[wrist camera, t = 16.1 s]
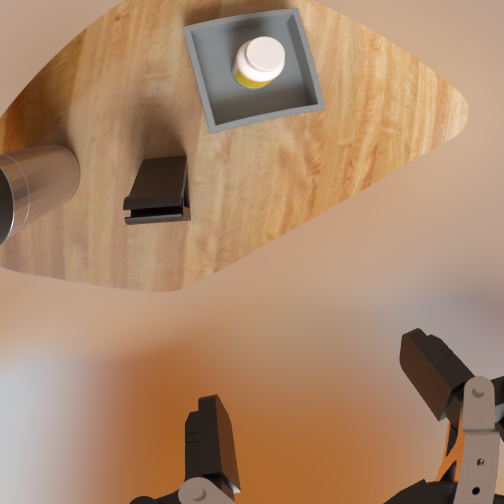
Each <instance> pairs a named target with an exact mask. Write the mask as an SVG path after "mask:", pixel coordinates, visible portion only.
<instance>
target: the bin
mask: <svg viewBox="0 0 504 504" xmlns="http://www.w3.org/2000/svg"><path fill="white" fill-rule="evenodd" d="M183 31H184V35H185V39H186V43H187V47H188V51H189V55H190V58H191V62H192V66H193V70H194V74H195V78H196V81H197V85H198V89H199V93H200V96H201V100H202V104H203V108H204V112H205V115H206V119H207V123H208V127H209V130H210V134H212V133H215V132H219V131H223V130H227V129H231V128H235V127H239V126H243V125H247V124H251V123H256V122H260V121H265V120H270V119H274V118H279V117H284V116H290V115H295V114H300V113H306V112H312V111H318V110H324V109H325V105H324V101H323V96H322V92H321V88H320V84H319V80H318V76H317V72H316V68H315V65H314V61H313V57H312V54H311V50H310V47H309V43H308V40H307V36H306V33H305V30H304V26H303V23H302V20H301V17H300V14H299V11H298V8H295V9H282V10H272V11H263V12H255V13H248V14H242V15H236V16H230V17H225V18H220V19H215V20H210V21H206V22H201V23H197V24H193V25H189V26H185V27H183ZM258 37H271V38H274V39H276V40H277V41H278V42H280V43H281V45H282V46H283V48H284V51H285V63H284V67H283V70H282V71H281V73H280V74H279V75H278V76H277V77H276V78H275V79H273V80H272V81H271V82H270V83H268V84H267V85H266V86H264V87H262V88H260V89H255V90H250V89H246V88H243V87H241V86H240V85H238V84H237V83H236V82H235V80H234V78H233V76H232V65H233V62H234V60H235V58H236V55H237V52H238V50H239V49H240V47H241V46H242V45H243V44H244V43H246V42H247V41H250V40H253V39H255V38H258Z"/></svg>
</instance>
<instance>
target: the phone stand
mask: <svg viewBox="0 0 504 504" xmlns="http://www.w3.org/2000/svg"><path fill="white" fill-rule="evenodd" d="M123 210H130V211H131V214H130V215H131V216H130V217H125V222H126V224H127V225H134V224H146V223H160V222H174V221H188V220H191V217H190V203H189V189H188V169H187V156H180V157H168V158H157V159H147V160H143V162H142V164H141V167H140V169H139V172H138V174H137V177H136V179H135V182H134V184H133V187H132V189H131V192H130V194H129V196H127V197H125V199H124V204H123Z"/></svg>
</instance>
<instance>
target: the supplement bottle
mask: <svg viewBox="0 0 504 504" xmlns="http://www.w3.org/2000/svg"><path fill="white" fill-rule="evenodd" d="M284 63H285V51H284V48H283V46H282V45H281V43H280V42H278V41H277V40H276V39H274V38H271V37H258V38H255V39H253V40H250V41H247V42H246V43H244V44H243V45H242V46H241V47H240V49H239V50H238V52H237V55H236V58H235V60H234V62H233V65H232V76H233V78H234V80H235V82H236V83H237V84H238V85H240V86H241V87H243V88H246V89H250V90H255V89H260V88H262V87H264V86H266V85H267V84H268V83H270V82H271V81H272V80H273V79H275V78H276V77H277V76H278V75H279V74H280V73H281V71H282V70H283V67H284Z"/></svg>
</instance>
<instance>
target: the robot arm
mask: <svg viewBox="0 0 504 504" xmlns="http://www.w3.org/2000/svg"><path fill="white" fill-rule="evenodd" d="M79 179H80V169H79V164H78V161H77V159H76V157H75V155H74V154H73V152H71V151H70V150H69V149H68V148H67V147H65V146H63V145H59V144H52V145H45V146H39V147H33V148H27V149H22V150H17V151H12V152H7V153H2V154H0V245H1V244H2V243H3V242H4V241H6V240H7V239H9V238H10V237H12V236H13V235H15V234H16V233H17V232H19V231H20V230H22V229H23V228H25V227H26V226H28V225H30V224H31V223H33V222H34V221H36V220H37V219H39V218H41V217H42V216H44V215H45V214H47V213H49V212H50V211H52V210H54V209H56V208H57V207H59V206H61V205H62V204H64V203H66V202H67V201H68V200H70V199H71V198H72V196H73V195H74V194H75V192H76V190H77V188H78V185H79ZM400 365H401V368H402V370H403V371H404V373H405V374H406V375H407V377H408V378H409V380H410V381H411V382H412V384H413V385H414V387H415V388H416V389H417V391H418V392H419V394H420V395H421V396H422V398H423V399H424V401H425V402H426V404H427V405H428V407H429V408H430V409H431V411H432V412H433V414H434V415H435V417H436V418H437V420H438V421H440V420H442V419H444V418H446V417H447V418H448V420H449V423H448V429H447V437H446V443H445V450H444V456H443V460H442V463H441V466H440V468H439V471H438V474H437V478H436V481H433V482H428V483H426V481H425V480H424V479H423V480H421V481H419V482H417V483H415V484H414V485H412V486H410V487H408V488H406V489H404V490H402V491H400V492H399V493H397V494H396V495H395V496H393V497H392V498H391V499H390V500H388V501H387V502H385V503H384V504H504V496H503V495H498V494H494V492H495V486H496V478H497V469H498V459H499V445H500V437H501V439H502V440H503V442H504V376H502V377H499V378H496V379H493V380H489V379H487V378H485V377H481V376H477V377H476V376H474V375H473V374H472V372H471V371H470V370H469V369H468V368H467V367H466V366H465V365H464V364H463V362H462V361H461V360H460V359H459V358H458V357H457V356H456V355H455V354H454V353H453V351H452V350H451V349H450V348H448V346H447V345H446V344H445V343H444V342H443V341H442V340H441V339H440V338H438V337H436V336H433V335H429V336H426V334H425V333H424V332H423V331H422V330H421V329H419V328H416V329H414V330H412V331H410V332H408V333H406V334H403V336H402V340H401V350H400ZM198 405H199V406H198V408H199V411H196V412H190V413H189V416H188V418H187V420H186V422H185V435H186V436H185V444H186V445H185V481H184V483H183V484H182V485H181V487H180V488H179V489H178V490H177V491H175V492H174V493H171V494H169V495H166V496H163V497H160V498H158V499H153V498H151V497H147V496H140V497H137V498H135V499H134V500H132V501H131V502H130V504H237V503H235V500H234V493H239V492H241V489H240V482H239V476H238V470H237V462H236V455H235V447H234V440H233V432H232V426H231V421H230V418H229V415H228V413H227V411H226V410H225V408H224V406H223V404H222V402H221V400H220V398H219V397H218V395H211V396H206V397H201V398H199V400H198ZM495 429H496V430H495Z"/></svg>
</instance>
